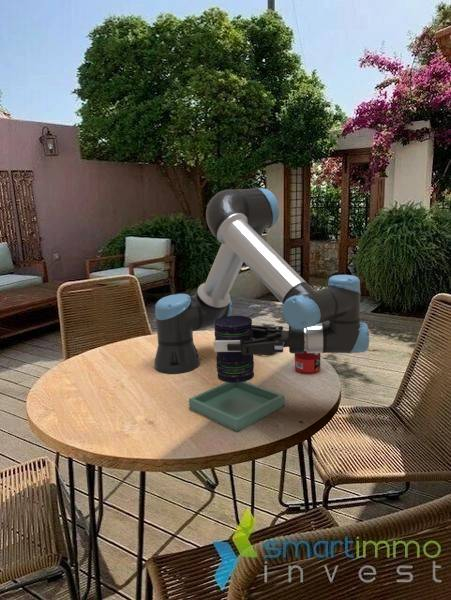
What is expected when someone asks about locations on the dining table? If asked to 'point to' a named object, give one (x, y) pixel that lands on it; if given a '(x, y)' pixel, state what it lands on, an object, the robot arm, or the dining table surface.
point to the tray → (236, 404)
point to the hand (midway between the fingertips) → (217, 339)
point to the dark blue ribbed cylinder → (234, 363)
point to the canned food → (307, 363)
